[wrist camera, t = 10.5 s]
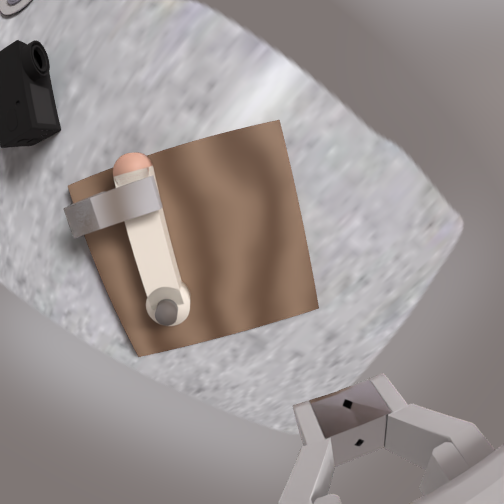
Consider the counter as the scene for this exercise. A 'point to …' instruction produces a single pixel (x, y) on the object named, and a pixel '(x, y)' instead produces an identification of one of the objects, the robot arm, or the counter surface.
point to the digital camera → (26, 96)
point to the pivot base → (204, 237)
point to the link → (152, 243)
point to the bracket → (12, 6)
